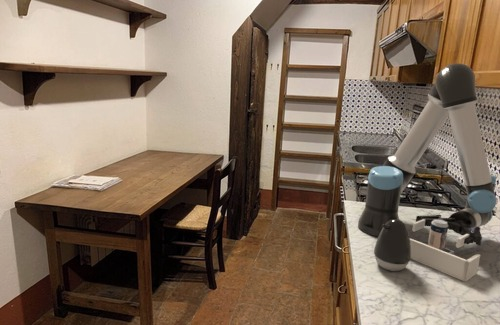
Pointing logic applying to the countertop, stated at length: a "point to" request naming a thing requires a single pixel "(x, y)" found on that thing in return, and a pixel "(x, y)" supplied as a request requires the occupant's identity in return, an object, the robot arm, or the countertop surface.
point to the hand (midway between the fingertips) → (434, 234)
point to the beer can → (438, 234)
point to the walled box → (444, 260)
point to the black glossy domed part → (393, 246)
